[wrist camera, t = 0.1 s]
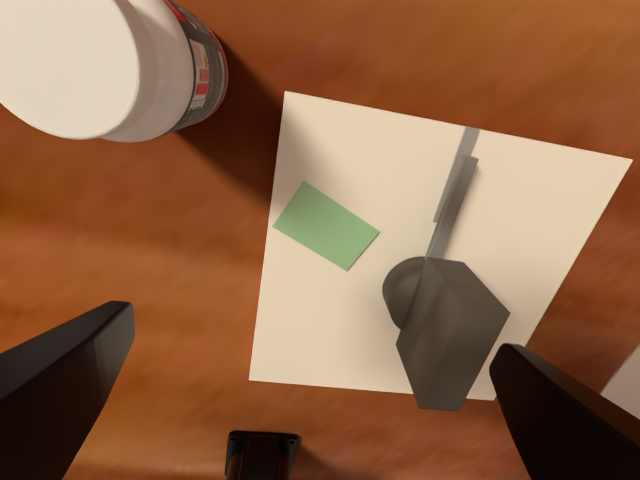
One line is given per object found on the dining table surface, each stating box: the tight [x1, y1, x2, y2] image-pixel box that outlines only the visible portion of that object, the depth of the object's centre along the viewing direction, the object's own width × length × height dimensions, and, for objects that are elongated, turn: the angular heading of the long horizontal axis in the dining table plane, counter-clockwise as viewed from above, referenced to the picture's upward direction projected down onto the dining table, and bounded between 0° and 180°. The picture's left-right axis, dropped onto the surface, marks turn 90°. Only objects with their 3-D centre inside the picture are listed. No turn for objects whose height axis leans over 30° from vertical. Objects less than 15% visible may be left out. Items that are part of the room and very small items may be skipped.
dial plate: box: [249, 91, 633, 401], centre depth 24 cm, size 22×22×1 cm
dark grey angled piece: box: [382, 155, 510, 412], centre depth 19 cm, size 13×5×7 cm, turn 170°
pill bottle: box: [0, 0, 228, 142], centre depth 13 cm, size 6×6×10 cm
